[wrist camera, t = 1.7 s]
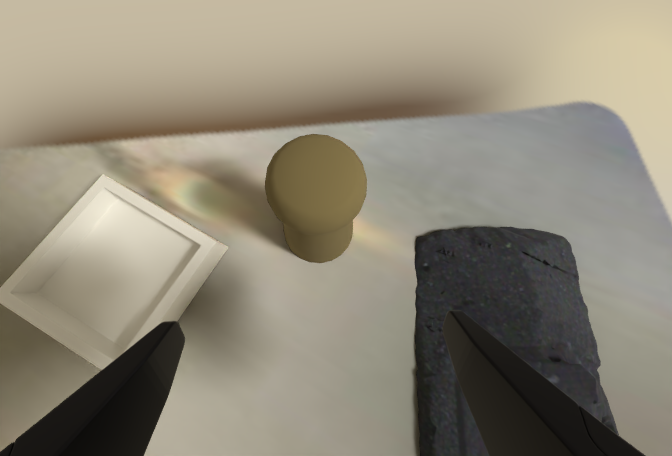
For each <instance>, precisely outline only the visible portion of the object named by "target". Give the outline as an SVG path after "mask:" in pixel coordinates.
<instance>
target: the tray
mask: <svg viewBox="0 0 672 456" xmlns="http://www.w3.org/2000/svg"><path fill="white" fill-rule="evenodd" d="M227 249H228V246H226V245H224V244H223V243H221V242H219V241H218V240H216V239H214V238H213V237H211V236H209V235H207V234H206V233H204V232H202V231H201V230H199V229H197V228H196V227H194V226H192V225H191V224H189V223H187V222H185V221H184V220H182V219H180V218H179V217H177V216H175V215H174V214H172V213H170V212H168V211H167V210H165V209H163V208H162V207H160V206H158V205H157V204H155V203H153V202H152V201H150V200H148V199H146V198H145V197H143V196H141V195H140V194H138V193H136V192H135V191H133V190H131V189H129V188H128V187H126V186H124V185H122V184H120V183H119V182H117V181H115V180H113V179H111V178H109V177H107V176H106V175H104V174H102V176H101V177H100V178H99V179H98V180H97V181H96V182H95V183H94V184H93V185H92V187H91V188H90V189H89V190H88V191H87V192H86V193H85V194H84V195H83V197H82V198H81V199H80V200H79V201H78V202H77V203H76V204H75V205H74V207H73V208H72V209H71V210H70V211H69V212H68V213H67V214H66V215H65V216H64V218H63V219H62V220H61V221H60V222H59V223H58V224H57V225H56V226H55V228H54V229H53V230H52V231H51V232H50V233H49V234H48V235H47V236H46V238H45V239H44V240H43V241H42V242H41V243H40V244H39V245H38V246H37V247H36V249H35V250H34V251H33V252H32V253H31V254H30V255H29V256H28V257H27V259H26V260H25V261H24V262H23V263H22V264H21V265H20V266H19V267H18V269H17V270H16V271H15V272H14V273H13V274H12V275H11V276H10V277H9V278H8V280H7V281H6V282H5V283H4V284H3V285H2V286H1V287H0V303H1V304H2V305H4V306H5V307H7V308H8V309H10V310H11V311H13V312H14V313H16V314H17V315H19V316H20V317H22V318H23V319H25V320H26V321H28V322H29V323H31V324H32V325H34V326H35V327H37V328H38V329H40V330H41V331H43V332H44V333H46V334H48V335H49V336H51V337H52V338H54V339H55V340H57V341H58V342H60V343H61V344H63V345H64V346H66V347H67V348H69V349H70V350H72V351H73V352H75V353H76V354H78V355H79V356H81V357H82V358H84V359H85V360H87V361H88V362H90V363H91V364H93V365H94V366H96V367H98V368H99V369H101V370H103V369H104V368H105V367H106V366H108V365H109V364H110V363H111V362H113V361H114V360H115V359H116V358H118V357H119V356H120V355H121V354H123V353H124V352H125V351H126V350H128V349H129V348H130V347H131V346H132V345H134V344H135V343H136V342H137V341H139V340H140V339H141V338H142V337H144V336H145V335H146V334H147V333H149V332H150V331H151V330H152V329H154V328H155V327H156V326H157V325H159V324H160V323H161V322H164V321H178V320H179V318H180V317H181V315H182V314H183V313H184V311H185V310H186V308H187V307H188V305H189V304H190V302H191V301H192V299H193V298H194V297H195V295H196V294H197V292H198V291H199V289H200V288H201V286H202V285H203V284H204V282H205V281H206V279H207V278H208V276H209V275H210V273H211V272H212V271H213V269H214V268H215V266H216V265H217V263H218V262H219V260H220V259H221V258H222V256H223V255H224V253H225V252H226V250H227Z"/></svg>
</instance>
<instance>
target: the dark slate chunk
mask: <svg viewBox="0 0 672 456" xmlns="http://www.w3.org/2000/svg"><path fill="white" fill-rule="evenodd" d="M416 251H417V252H416V256H415V269H416V276H417V287H416V301H415V306H416V311H417V313H416V335H415V342H416V361H417V366H418V370H417V374H416V376H417V382H418V386H417V396H418V407H419V414H418V418H419V430H420V440H419V444H420V456H489V454H488V452H487V449H486V447H485V444H484V442H483V440H482V437H481V435H480V432H479V430H478V428H477V425H476V423H475V420H474V418H473V416H472V413H471V411H470V408H469V406H468V404H467V401H466V399H465V396H464V394H463V392H462V389H461V387H460V384H459V382H458V379H457V376H456V373H455V370H454V367H453V364H452V361H451V357H450V354H449V351H448V348H447V344H446V341H445V338H444V334H443V330H442V327H443V323H444V320H445V317H446V315H447V312H448V311H450V310H461V311H463V312H464V313H465V314H467V315H468V316H469V317H470V318H472V319H473V320H474V321H475V322H477V323H478V324H479V325H480V326H482V327H483V328H484V329H485V330H487V331H488V332H489V333H490V334H492V335H493V336H494V337H495V338H497V339H498V340H499V341H500V342H502V343H503V344H504V345H505V346H507V347H508V348H509V349H510V350H512V351H513V352H514V353H515V354H517V355H518V356H519V357H520V358H522V359H523V360H524V361H525V362H527V363H528V364H529V365H530V366H532V367H533V368H534V369H535V370H537V371H538V372H539V373H540V374H542V375H543V376H544V377H545V378H547V379H548V380H549V381H550V382H552V383H553V384H554V385H555V386H557V387H558V388H559V389H560V390H562V391H563V392H564V393H565V394H567V395H568V396H569V397H570V398H572V399H573V400H574V401H575V402H577V403H578V405H579V406H582V407H583V408H584V409H585V410H587V411H588V412H589V413H591V414H592V415H593V416H594V417H596V418H597V419H598V420H599V421H601V422H602V423H603V424H604V425H606V426H607V427H608V428H610V429H611V430H612V431H613V432H615V433H616V434H617V435H619V434H618V431H617V428H616V424H615V421H614V418H613V415H612V413H611V410H610V407H609V404H608V400H607V398H606V396H605V393H604V391H603V388H602V387H601V385H600V377H599V373H598V371H597V369H598V367H599V366H600V359H599V356H598V352H597V343H596V340H595V337H594V334H593V331H592V329H591V324H590V322H589V318H588V309H587V306H586V304H585V303H584V301H583V297H582V295H581V292H580V286H579V281H578V280H579V275H578V271H577V266H576V261H575V257H574V255H573V253H572V248H571V245H570V243H569V242H568V241H567V240H566V239H565V238H564V237H562V236H559V235H556V234H553V233H549V232H544V231H538V230H535V229H518V228H513V227H500V228H488V227H473V228H463V229H458V230H456V231H453V230H441V231H438V232H433V233H431V234H430V235H428V236H425V237H418V238H417V241H416Z"/></svg>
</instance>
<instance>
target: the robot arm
mask: <svg viewBox="0 0 672 456" xmlns="http://www.w3.org/2000/svg"><path fill="white" fill-rule="evenodd" d="M442 330H443V334H444V338H445V341H446V344H447V348H448V351H449V354H450V357H451V361H452V364H453V367H454V370H455V373H456V376H457V379H458V382H459V384H460V387H461V389H462V392H463V394H464V396H465V399H466V401H467V404H468V406H469V408H470V411H471V413H472V416H473V418H474V420H475V423H476V425H477V428H478V430H479V432H480V435H481V437H482V440H483V442H484V444H485V447H486V449H487V452H488V454H489V456H645V455H644V454H643V453H641V452H640V451H639V450H637V449H636V448H635V447H633V446H632V445H631V444H629V443H628V442H626V441H625V440H624V439H622V438H621V437H620V436H619V435H617V434H616V433H615V432H613V431H612V430H611V429H610V428H608V427H607V426H606V425H604V424H603V423H602V422H601V421H599V420H598V419H597V418H596V417H594V416H593V415H592V414H591V413H589V412H588V411H587V410H585V409H584V408H583V407H582V406H579V405H578V403H577V402H575V401H574V400H573V399H572V398H570V397H569V396H568V395H567V394H565V393H564V392H563V391H562V390H560V389H559V388H558V387H557V386H555V385H554V384H553V383H552V382H550V381H549V380H548V379H547V378H545V377H544V376H543V375H542V374H540V373H539V372H538V371H537V370H535V369H534V368H533V367H532V366H530V365H529V364H528V363H527V362H525V361H524V360H523V359H522V358H520V357H519V356H518V355H517V354H515V353H514V352H513V351H512V350H510V349H509V348H508V347H507V346H505V345H504V344H503V343H502V342H500V341H499V340H498V339H497V338H495V337H494V336H493V335H492V334H490V333H489V332H488V331H487V330H485V329H484V328H483V327H482V326H480V325H479V324H478V323H477V322H475V321H474V320H473V319H472V318H470V317H469V316H468V315H467V314H465V313H464V312H463V311H461V310H450V311H448V312H447V315H446V317H445V320H444V323H443V327H442ZM184 343H185V337H184V334H183V332H182V330H181V328H180V325H179V323H178V322H177V321H164V322H161V323H160V324H159V325H157V326H156V327H155V328H154V329H152V330H151V331H150V332H149V333H147V334H146V335H145V336H144V337H142V338H141V339H140V340H139V341H137V342H136V343H135V344H134V345H132V346H131V347H130V348H129V349H128V350H126V351H125V352H124V353H123V354H121V355H120V356H119V357H118V358H116V359H115V360H114V361H113V362H111V363H110V364H109V365H108V366H106V367H105V368H104V369H103V370H102V371H100V372H99V373H98V374H97V375H95V376H94V377H93V378H92V379H90V380H89V381H88V382H87V383H85V384H84V385H83V386H82V387H80V388H79V389H78V390H77V391H75V392H74V393H73V394H72V395H71V396H69V397H68V398H67V399H66V400H64V401H63V402H62V403H61V404H59V405H58V406H57V407H56V408H54V409H53V410H52V411H51V412H49V413H48V414H47V415H46V416H44V417H43V418H42V419H41V420H40V421H38V422H37V423H36V424H35V425H33V426H32V427H31V428H30V429H28V430H27V431H26V432H25V433H23V434H22V435H21V436H20V437H18V438H17V439H16V441H15V442H13V443H11V444H10V445H8V446H7V447H6V448H5V449H3V450H2V451H1V452H0V456H144V454H145V451H146V449H147V446H148V444H149V441H150V439H151V437H152V434H153V432H154V429H155V427H156V425H157V422H158V420H159V417H160V415H161V412H162V410H163V408H164V405H165V403H166V400H167V398H168V395H169V392H170V389H171V386H172V383H173V380H174V376H175V373H176V370H177V367H178V363H179V360H180V357H181V353H182V350H183V347H184Z"/></svg>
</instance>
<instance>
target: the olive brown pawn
mask: <svg viewBox="0 0 672 456" xmlns="http://www.w3.org/2000/svg"><path fill="white" fill-rule="evenodd" d="M366 189H367V179H366V174H365V171H364V167H363V164H362V162H361V160H360V159H359V157H358V156H357V155H356V153H355V152H354V150H352V149H351V148H350V147H348V146H347V145H346V144H345V143H343V142H342V141H340V140H338V139H335V138H333V137H330V136H328V135H318V134H311V135H305V136H300V137H298V138H296V139H294V140H292V141H290V142H288V143H286V144H285V145H284V146H283V147H282V148H280V149H279V150H278V151H277V152H276V153H275V154H274V156H273V158H272V160H271V162H270V163H269V165H268V167H267V173H266V180H265V190H266V195H267V200H268V203H269V204H270V206H271V208H272V210H273V211H274V213H275V215H276V216H277V218H278V219H279V220H280V221H282V222H283V226H284V234H285V239H286V242H287V244H288V246H289V247H290V249H291V251H292V252H294V253H295V254H296V255H297V256H298V257H299V258H301V259H304V260H306V261H308V262H315V263H323V262H327V261H332V260H333V259H335V258H337V257H338V256H340V255H341V254H342V253H343V252H344V251H345V250H346V249H347V247H348V246H349V243H350V241H351V238H352V232H353V219H354V218H355V217H356V216H357V214H358V213H359V212H360V210H361V207H362V205H363V202H364V200H365V197H366Z"/></svg>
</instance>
